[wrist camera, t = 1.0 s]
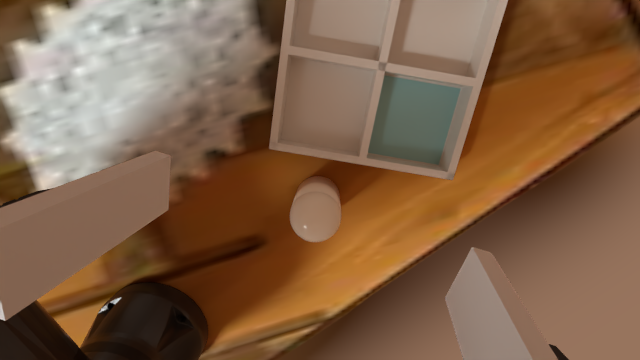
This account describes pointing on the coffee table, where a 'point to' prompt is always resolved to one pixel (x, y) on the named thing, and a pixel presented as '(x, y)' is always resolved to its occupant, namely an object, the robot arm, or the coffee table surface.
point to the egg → (316, 209)
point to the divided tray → (383, 80)
